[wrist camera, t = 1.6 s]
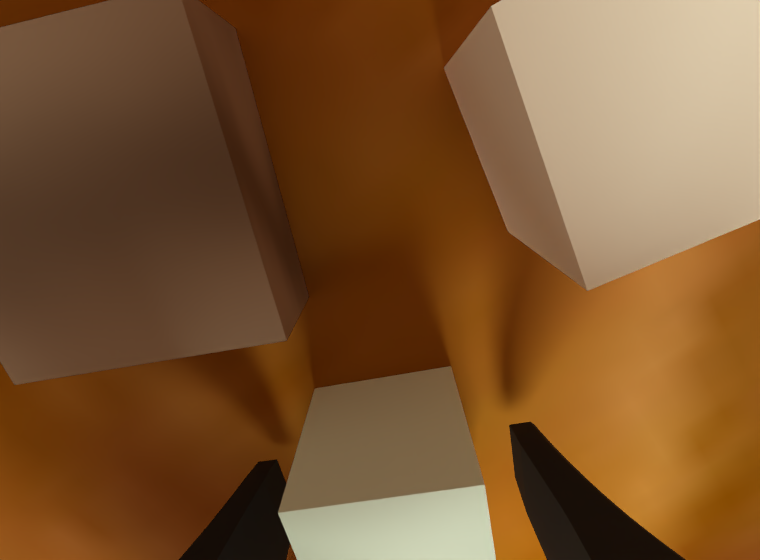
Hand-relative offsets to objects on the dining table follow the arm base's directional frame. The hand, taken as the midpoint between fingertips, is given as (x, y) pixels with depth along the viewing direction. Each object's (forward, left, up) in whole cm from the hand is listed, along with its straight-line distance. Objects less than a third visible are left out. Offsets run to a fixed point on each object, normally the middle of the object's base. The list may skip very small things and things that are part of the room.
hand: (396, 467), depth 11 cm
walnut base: (+9, +5, -2) cm, 10 cm away
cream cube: (+9, -6, -2) cm, 11 cm away
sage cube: (0, 0, -2) cm, 2 cm away
